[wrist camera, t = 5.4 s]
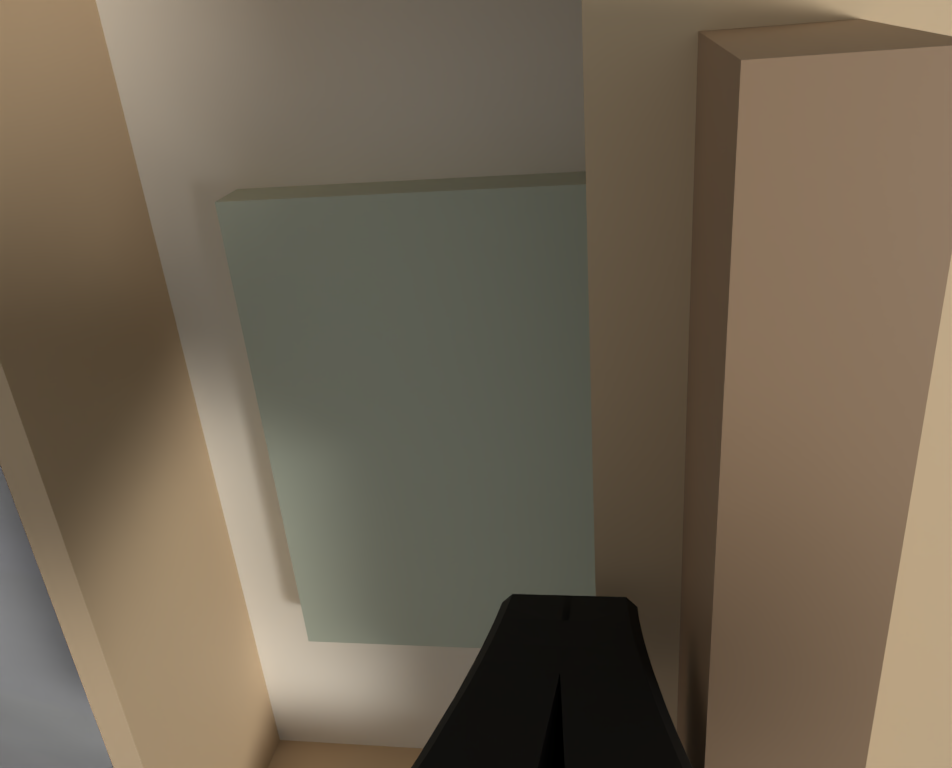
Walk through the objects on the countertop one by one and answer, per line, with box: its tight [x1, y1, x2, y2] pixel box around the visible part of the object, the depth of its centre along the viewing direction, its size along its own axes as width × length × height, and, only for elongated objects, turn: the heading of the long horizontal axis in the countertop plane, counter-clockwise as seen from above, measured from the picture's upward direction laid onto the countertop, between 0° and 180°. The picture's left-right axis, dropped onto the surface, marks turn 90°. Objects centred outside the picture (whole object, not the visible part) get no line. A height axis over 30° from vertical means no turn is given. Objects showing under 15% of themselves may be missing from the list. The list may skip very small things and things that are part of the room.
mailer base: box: [0, 0, 596, 768], centre depth 12 cm, size 16×18×4 cm
